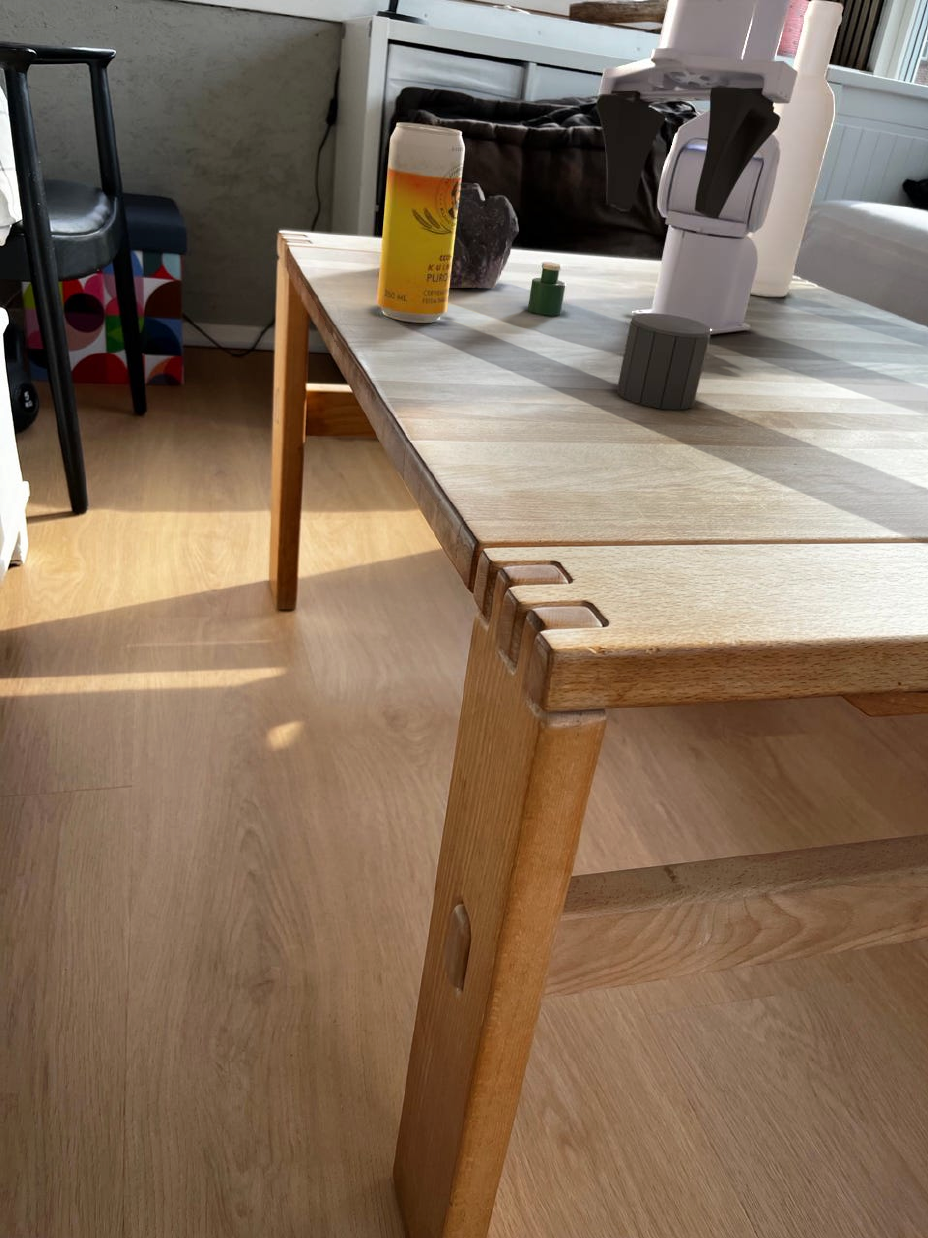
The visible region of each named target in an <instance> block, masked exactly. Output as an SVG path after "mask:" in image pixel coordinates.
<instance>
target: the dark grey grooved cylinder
mask: <svg viewBox="0 0 928 1238" xmlns="http://www.w3.org/2000/svg"><path fill="white" fill-rule="evenodd" d="M711 335H712V334H711V329H710V327H708V326H707V325H705V324H703V323H700V322H697V321H694V320H691V319H687V318H683V317H678V316H673V315H666V314H657V313H640V314H635V315H633V316H631V321H630V323H629V327H628V333H627V337H626V342H625V348H624V352H623V357H622V362H621V368H620V373H619V378H618V383H617V388H616V393H617V394H618V395H619V396H620V397H621V398H623V399H624V400H627V401H629V402H632V403H635V404H637V405H640V406H645V407H650V408H654V409H658V410H659V409H661V410H671V411H672V410H675V411H681V410H686V409H691V408H693V406H694V405H695V402H696V397H697V393H698V390H699V389H698V388H699V385H700V380H701V376H702V372H703V368H704V364H705V359H706V355H707V352H708V347H709V343H710V340H711Z"/></svg>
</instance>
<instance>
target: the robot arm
mask: <svg viewBox="0 0 928 1238" xmlns="http://www.w3.org/2000/svg"><path fill="white" fill-rule="evenodd" d="M791 1H792V0H668V2H667V6H666V10H665V14H664V19H663V22H662V27H661V31H660V36H659V40H658V42H657V43H658V44H657V47H656V48H653V49H652V51H651V56H650V57H648V58H645V59H641V60H638V61H634V62H630V63H627V64H623V65H619V66H613V67H612V66H611V67H604V68H603V73H602V77H601V80H600V85H599V90H598V94H597V99H596V103H595V107H596V110H597V112H598V113H597V114H598V116H599V120H600V125H601V130H602V134H603V135H602V136H603V140H604V148H605V158H606V159H605V161H606V162H605V163H606V205H607V206H609V207H612V208H614V209H616V210H618V211H621V212H629V213H630V211H631V209H632V207H633V205H634V202H635V199H636V196H637V192H638V189H639V186H640V182H641V178H642V173H643V170H644V166H645V164H646V161H647V158H648V156H649V153H650V151H651V148H652V146H653V144H654V142H655V140H656V137H657V135H658V134H659V132H660V130H661V128H662V126H663V125H664V124H665V121H666V117H667V115H666V114H664V113H662V112H661V111H659V110H657V109H656V108H653V107H652V106H650V103H651V102H709V108H708V109H707V110H705V111H704V112H702V113H700V114H699V115H697V116H695V117H693V118H692V119H690V120H688V121H687V122H685V123H683V124H682V125H681V126H679V127H678V130H677V132H676V133H674V137H673V140H672V145H671V147H670V151H669V153H668V154H667V157H666V158H665V161H664V165H663V169H662V171H661V177H660V180H659V185H658V186H659V187H658V192H657V203H656V205H657V209H658V211H659V213H660V215H661V217H662V218H665V223H664V224H665V225H668V228H667V233H666V237H665V242H664V247H663V250H662V251H663V252H662V255H661V256H662V257H661V260H660V261H661V262H660V266H659V271H658V276H657V280H656V285H655V291H654V295H653V300H652V304H651V308H649V309H640V310H639V309H638V310H632V311H631V317H633V315H635V314H640V313H657V314H666V315H673V316H678V317H683V318H687V319H691V320H694V321H697V322H700V323H703V324H705V325H707V326H708V327H710V329H711V335H717V334H726V333H733V332H742V331H749V330H750V329H751V325H750V324H749V323H745V318H746V313H747V309H748V305H749V301H750V298H751V297H750V296H751V294H750V293H751V289H752V285H753V281H754V277H755V273H756V270H757V264H758V255H757V250H756V246H755V244H754V242H753V241H752V239H751V238H750V237H749V236H747V235H748V234H749V232H751V233H755V232H756V231H757V230H758V229H760V228H761V227H762V226H763V223H764V221H765V218H766V215H767V212H768V208H769V205H770V201H771V197H772V193H773V189H774V184H775V179H776V174H777V167H778V163H779V159H780V149H779V142H778V140H777V139H776V137H775V136H774V135H773V134H772V133H773V132H774V131H775V130H776V129H777V127H778V125H779V121H780V116H779V115H778V114H776V113H775V112H773V111H774V106H773V104H774V103H778V104H780V103H790V99H791V96H792V92H793V88H794V84H795V81H796V77H797V73H798V72H797V71H796V70H795V69H793V66H791V65H789V64H788V63H787V62H786V61H785V60H776V57H777V53H778V50H779V47H780V46H779V45H780V42H781V38H782V34H783V31H784V26H785V22H786V19H787V15H788V12H789V8H790V4H791Z"/></svg>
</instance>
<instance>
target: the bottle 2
mask: <svg viewBox="0 0 928 1238" xmlns="http://www.w3.org/2000/svg"><path fill="white" fill-rule="evenodd" d="M843 10H844V6H843V4H842V3H841V2H835V1H827V0H811V1H810V2H808V5H807V9H806V11H805V13H804V15H803V26H802V29H801V30H802V31H801V33H800V37H799V42H798V46H797V50H796V54H795V58H794V62H793V66H792V68H793V69H795V70H796V71H797V72H798V73H797V77H796V81H795V84H794V88H793V92H792V96H791V99H790V103H780V104H778V103H774V104H773V106H774V111H773V112H775V113H776V114H778V115H779V116H780V121H779V125H778V127H777V129H776V130H775V131H774V132H773V133H772V134H773V135H774V136H775V137H776V139H777V140H778V142H779V149H780V159H779V163H778V167H777V174H776V179H775V184H774V189H773V193H772V197H771V201H770V205H769V208H768V212H767V215H766V218H765V221H764V223H763V226H762V227H761V228H760V229H758V230H757V231H756V232H755V233H751V232H749V234H748V235H747V236H749V237H750V238H751V239H752V241H753V242H754V244H755V246H756V250H757V255H758V264H757V270H756V273H755V277H754V281H753V285H752V289H751V293H750V295H751V296H758V297H767V298H783V297H785V296H786V295H788V292H789V288H790V285H791V283H792V281H793V277H794V273H795V270H796V269H795V267H796V263H797V258H798V255H799V252H800V248H801V244H802V241H803V236H804V233H805V229H806V225H807V222H808V218H809V214H810V210H811V207H812V204H813V199H814V196H815V192H816V187H817V185H818V180H819V177H820V173H821V170H822V166H823V161H824V158H825V155H826V154H825V153H826V152H827V151H826V150H827V147H828V143H829V139H830V136H831V132H832V129H833V124H834V121H835V117H836V102H835V101H836V100H835V93H834V91H833V90H832V88H831V86H830V85H829V83H828V81H827V79H826V75H827V72H828V68H829V64H830V60H831V56H832V53H833V49H834V45H835V41H836V37H837V33H838V29H839V26H840V25H841V23H842V20H843V16H842V13H843Z"/></svg>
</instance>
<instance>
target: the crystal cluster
mask: <svg viewBox="0 0 928 1238" xmlns="http://www.w3.org/2000/svg"><path fill="white" fill-rule="evenodd" d="M519 230H520V229H519V223H518V217H517V215H516V212H515V210H514V207H513V206H512V204H511V202H510V201H509V199H508V198H507V197H506V196H505V195H500V194H497V195H494V196H492V195H490V196H489V197H487V198H486V199H485V195H484V191H483V190H482V189H481V187H480V184H479V183H471V182H461V188H460V196H459V205H458V214H457V223H456V232H455V240H454V249H453V258H452V267H451V276H450V285H449V289H450V288H451V289H467V288H469V289H476V288H478V289H495V288H496V285H497V284H498V282H499V280H500V278H501V275H502V271H503V270H504V269H505V267H506V264H507V263H508V260H509V258H510V256H511V252H512V243H513V241H514V240H515V238H516V237H517V236H518V233H519V232H520V231H519Z"/></svg>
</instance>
